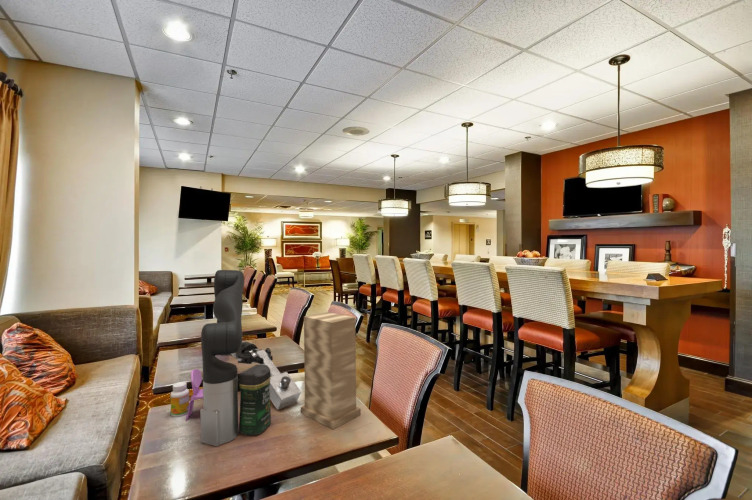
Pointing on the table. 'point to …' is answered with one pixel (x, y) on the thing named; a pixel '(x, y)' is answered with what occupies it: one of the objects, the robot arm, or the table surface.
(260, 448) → the table surface
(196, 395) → the toy chair
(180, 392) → the supplement bottle
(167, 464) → the table surface
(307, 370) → the oak pedestal
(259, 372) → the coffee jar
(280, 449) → the table surface
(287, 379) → the lever cap
